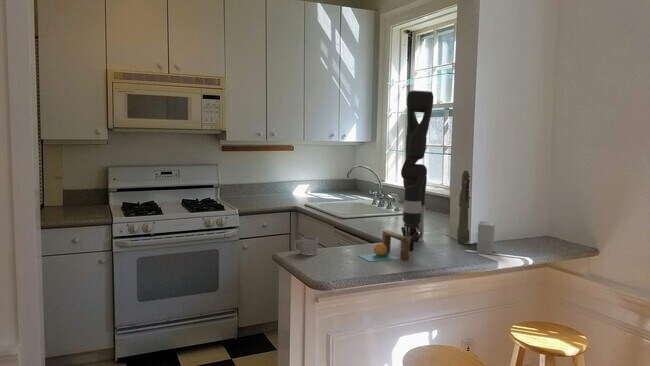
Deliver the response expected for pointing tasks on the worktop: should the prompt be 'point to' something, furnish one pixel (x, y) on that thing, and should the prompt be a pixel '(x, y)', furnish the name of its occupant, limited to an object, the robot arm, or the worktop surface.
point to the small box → (485, 237)
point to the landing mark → (378, 257)
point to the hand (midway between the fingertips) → (410, 251)
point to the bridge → (404, 243)
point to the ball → (380, 249)
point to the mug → (307, 245)
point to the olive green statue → (463, 209)
